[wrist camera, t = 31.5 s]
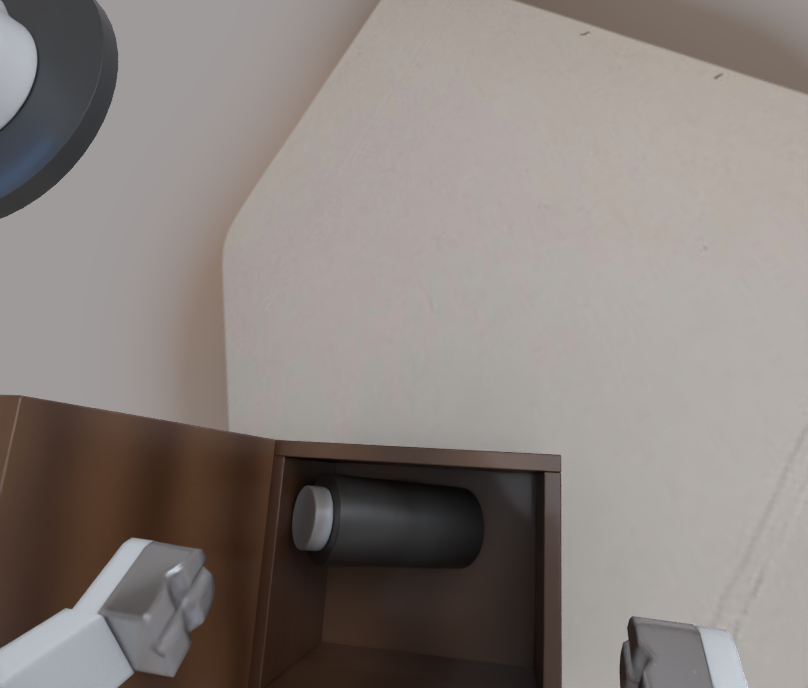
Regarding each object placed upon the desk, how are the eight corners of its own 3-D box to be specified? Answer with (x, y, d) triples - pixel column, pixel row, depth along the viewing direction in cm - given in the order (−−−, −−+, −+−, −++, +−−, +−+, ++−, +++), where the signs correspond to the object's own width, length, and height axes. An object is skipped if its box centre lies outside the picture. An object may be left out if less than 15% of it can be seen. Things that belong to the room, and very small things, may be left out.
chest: (548, 462, 36) (561, 455, 27) (548, 680, 33) (561, 759, 24) (330, 450, 39) (272, 439, 29) (312, 650, 36) (241, 709, 26)
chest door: (21, 395, 14) (-138, 389, 15) (-113, 1013, 11) (-297, 951, 12) (276, 439, 29) (185, 434, 30) (245, 714, 26) (146, 698, 27)
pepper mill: (436, 563, 35) (281, 559, 30) (440, 487, 36) (293, 471, 31) (482, 574, 31) (314, 571, 26) (486, 488, 32) (326, 471, 27)
